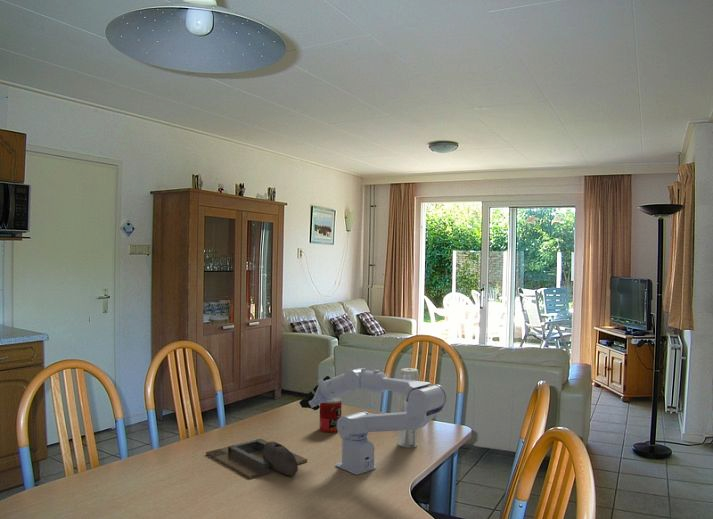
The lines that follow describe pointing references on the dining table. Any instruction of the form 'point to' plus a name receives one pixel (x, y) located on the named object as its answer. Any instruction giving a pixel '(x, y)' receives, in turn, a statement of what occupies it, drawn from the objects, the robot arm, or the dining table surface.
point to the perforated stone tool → (280, 458)
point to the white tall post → (406, 436)
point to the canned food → (330, 415)
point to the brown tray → (246, 458)
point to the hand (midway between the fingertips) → (308, 397)
